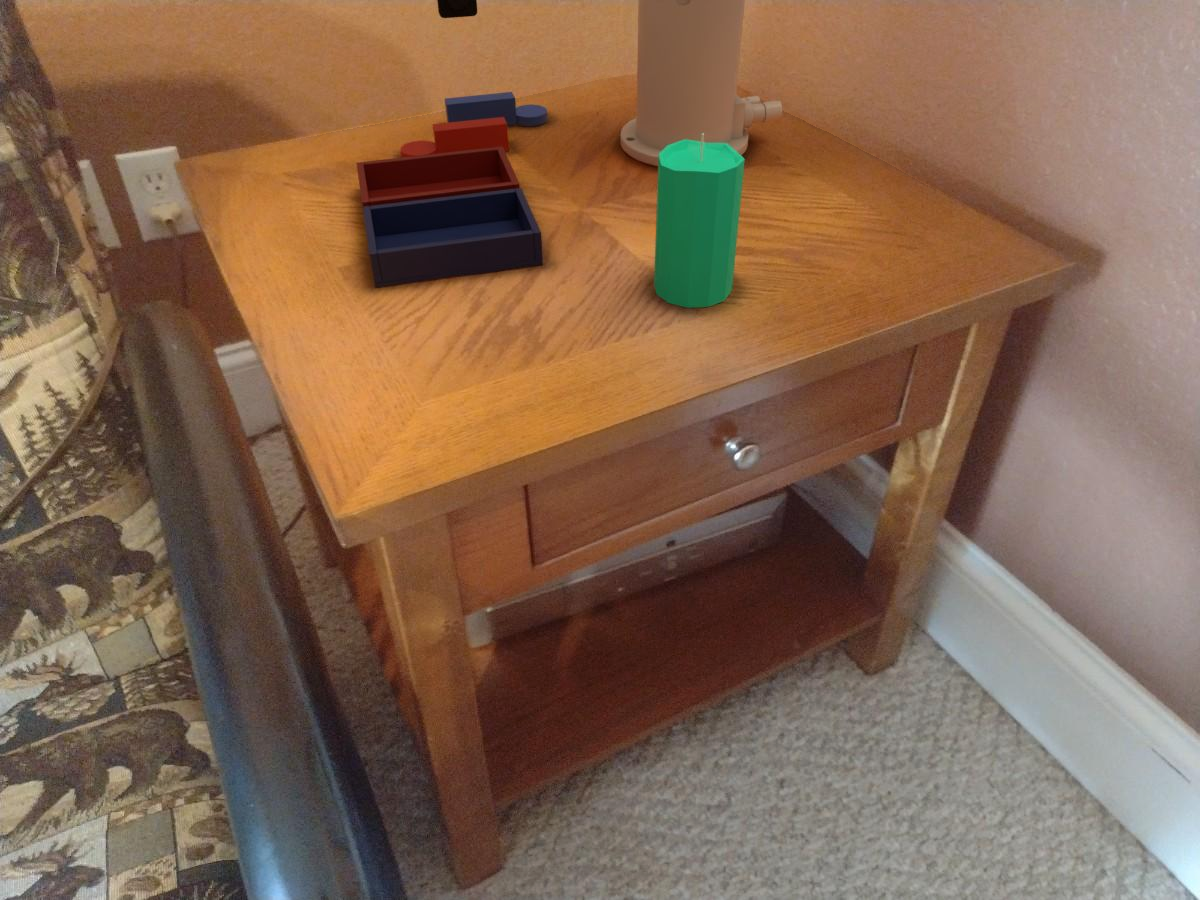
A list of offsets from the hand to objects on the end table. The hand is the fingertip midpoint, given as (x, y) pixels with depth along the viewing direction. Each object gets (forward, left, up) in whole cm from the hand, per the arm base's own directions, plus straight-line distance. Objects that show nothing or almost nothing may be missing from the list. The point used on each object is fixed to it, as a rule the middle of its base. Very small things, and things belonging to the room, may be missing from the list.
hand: (450, 0), depth 80 cm
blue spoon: (-4, -7, -14) cm, 16 cm away
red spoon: (+1, 0, -14) cm, 14 cm away
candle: (-13, +30, -14) cm, 36 cm away
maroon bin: (+4, +10, -14) cm, 18 cm away
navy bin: (+4, +19, -14) cm, 24 cm away
